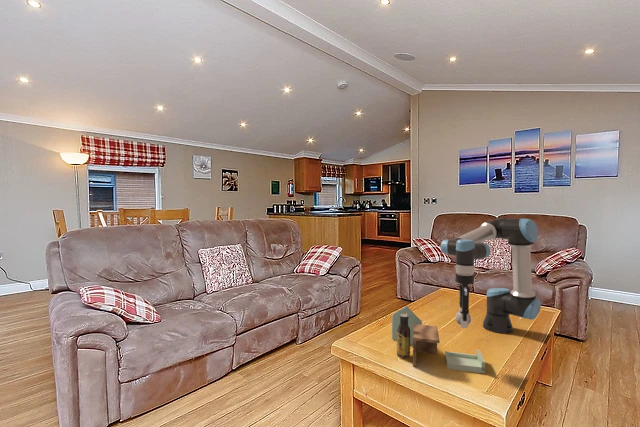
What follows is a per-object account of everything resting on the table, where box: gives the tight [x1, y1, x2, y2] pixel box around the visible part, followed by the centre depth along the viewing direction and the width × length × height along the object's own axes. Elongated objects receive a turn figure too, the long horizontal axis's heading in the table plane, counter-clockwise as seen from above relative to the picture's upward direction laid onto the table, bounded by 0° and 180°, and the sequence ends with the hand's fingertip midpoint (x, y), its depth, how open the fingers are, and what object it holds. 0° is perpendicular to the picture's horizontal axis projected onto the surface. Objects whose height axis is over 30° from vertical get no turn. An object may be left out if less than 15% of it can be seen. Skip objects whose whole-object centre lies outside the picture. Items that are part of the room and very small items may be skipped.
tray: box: [444, 349, 486, 374], centre depth 149 cm, size 15×12×5 cm
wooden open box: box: [412, 324, 441, 368], centre depth 153 cm, size 11×17×13 cm, turn 164°
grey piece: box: [391, 305, 423, 347], centre depth 173 cm, size 16×8×20 cm, turn 50°
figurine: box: [455, 307, 472, 326], centre depth 149 cm, size 6×7×8 cm
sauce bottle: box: [396, 313, 411, 359], centre depth 157 cm, size 6×6×20 cm
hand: (463, 324), depth 149 cm, fingers closed on figurine, 6 cm apart
